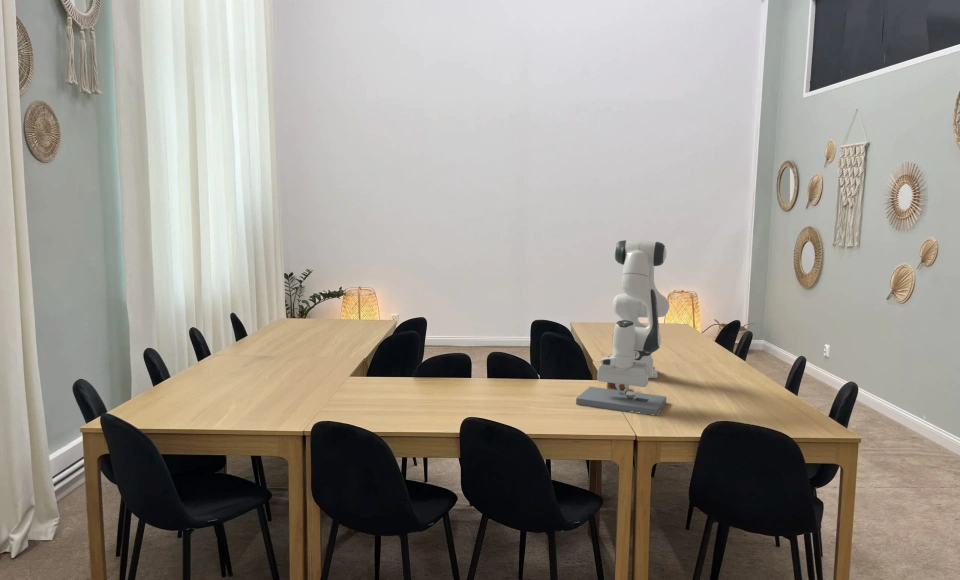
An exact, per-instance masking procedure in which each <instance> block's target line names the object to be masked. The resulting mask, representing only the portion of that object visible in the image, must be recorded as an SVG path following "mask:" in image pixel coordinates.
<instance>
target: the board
mask: <svg viewBox="0 0 960 580" xmlns="http://www.w3.org/2000/svg"><path fill="white" fill-rule="evenodd" d="M635 394H636V395H635V397H634V398H633V399H629V398H627V397H626V395H619V394H618V390H612V389H607V388H606V387H605V388H603V387H596V386H589V387H588V388H587V389H585V390H584V391H582V393H581V394H580V395H578V396H577V397H576V399H575V405H578V406H584V405H585V406H586V407H591V406H592V408H598V407H599V409H600V408H601V409H607V410H613V411H620V412H626V411H633V412H640V413H646V414H645V415H647V414H654V415H657V414H658V413H659V414H660V412H661V411H662V409H663V408H664V407H665V405H666V403H667V396H666V395H658V394H657V395H656V394H651V393H650V394H649V393H641V392H635ZM664 404H665V405H664ZM662 407H663V408H662ZM660 410H661V411H660ZM659 411H660V412H659ZM633 412H632V413H633ZM640 413H639V414H640ZM659 414H658V415H659ZM654 415H653V416H654ZM658 415H657V416H658Z"/></svg>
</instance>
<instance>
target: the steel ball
mask: <svg viewBox="0 0 960 580" xmlns="http://www.w3.org/2000/svg"><path fill="white" fill-rule="evenodd" d="M635 393H636V391H635V390H634V389H633V388H629V389H628V390H627V391H626V392H625V395H626V397H627V398H629V399H633V398H634V397H635V395H636V394H635Z"/></svg>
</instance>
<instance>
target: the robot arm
mask: <svg viewBox="0 0 960 580" xmlns="http://www.w3.org/2000/svg"><path fill="white" fill-rule="evenodd" d="M613 255H614V260H615V261H616V262H617V264H620V265H622V272H621V273H622V274H621V289H622V291H623V292H624V293H619V294H618V293H617V294H616V295H615V296H614V298H613V300H612V304H611V305H612V306H611V307H612V311H613V312H614V314H616V315H617V316H618V317H619V318H620V319H621V320H617V322H615V323H614V329H613V333H612V344H613V349H612V353H611V354H612V356H609V355H608V356H604V357H602V358H601V359H600V361H599V362H600V364H599V366H598V369H597V375H596V376H597V377H596V379H597V381H598V382H603V383H607V382H608V383H615V386H616V388H617V390H618V394H619V395H625V392H626V390H627V388H628V387H629V388H630V386H633V387H634V386H635V387H641V388H645V387H647V386H648V384H649V379H657V378H658V368H655V366H654V358H653V356H652V354H653V353H654V352H656V351H657V350H659V349H660V347H661V344H662V336H661V333H660V326H659V318H663V317H665V316H666V315H667V314H668V313H669V310H670V303H669V300H668V299H667V297H666V296H665V295H663V294H662V293H660V292H659V290H658V289H657V287H656V283H655V267H659V266H663V264H664V263H665V261H666V260H667V259H666V258H667V248H666V245H665V244H664V243H662V242H659V241H652V240H651V241H650V240H642V239H641V240H626V239H624V240H620V241H618V242H617V243H616V245H615V247H614V250H613ZM639 318H647V325H645V324H643V323H642V322H640V320H639ZM620 384H624V387H626V388H625V389H624V390H620V387H619V385H620Z"/></svg>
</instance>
